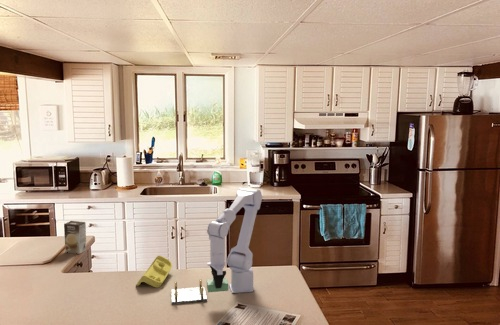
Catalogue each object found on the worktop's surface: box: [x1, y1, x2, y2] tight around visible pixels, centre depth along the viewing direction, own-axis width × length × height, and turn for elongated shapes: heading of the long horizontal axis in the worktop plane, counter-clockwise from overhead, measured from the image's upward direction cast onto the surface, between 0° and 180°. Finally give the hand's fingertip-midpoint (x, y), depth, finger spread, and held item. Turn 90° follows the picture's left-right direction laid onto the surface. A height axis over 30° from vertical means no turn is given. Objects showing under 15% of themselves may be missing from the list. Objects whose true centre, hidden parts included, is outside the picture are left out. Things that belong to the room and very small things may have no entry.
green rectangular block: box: [206, 277, 229, 293], centre depth 148 cm, size 8×5×3 cm, turn 102°
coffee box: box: [63, 220, 87, 255], centre depth 203 cm, size 9×6×16 cm
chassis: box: [171, 279, 208, 305], centre depth 155 cm, size 14×11×5 cm
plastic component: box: [135, 255, 173, 288], centre depth 172 cm, size 20×7×10 cm
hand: (217, 284), depth 148 cm, fingers closed on green rectangular block, 5 cm apart
